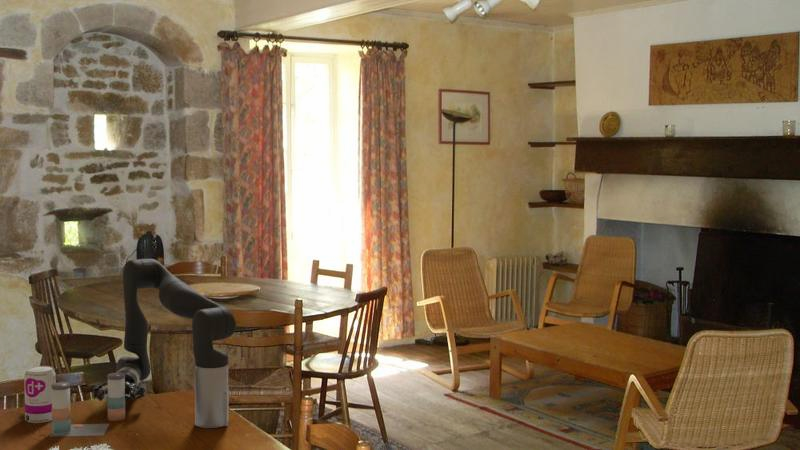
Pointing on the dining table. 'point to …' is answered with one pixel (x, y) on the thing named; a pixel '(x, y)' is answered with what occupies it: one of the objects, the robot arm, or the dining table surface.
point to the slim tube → (116, 396)
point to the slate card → (86, 430)
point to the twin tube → (61, 408)
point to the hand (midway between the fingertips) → (115, 397)
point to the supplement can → (39, 393)
